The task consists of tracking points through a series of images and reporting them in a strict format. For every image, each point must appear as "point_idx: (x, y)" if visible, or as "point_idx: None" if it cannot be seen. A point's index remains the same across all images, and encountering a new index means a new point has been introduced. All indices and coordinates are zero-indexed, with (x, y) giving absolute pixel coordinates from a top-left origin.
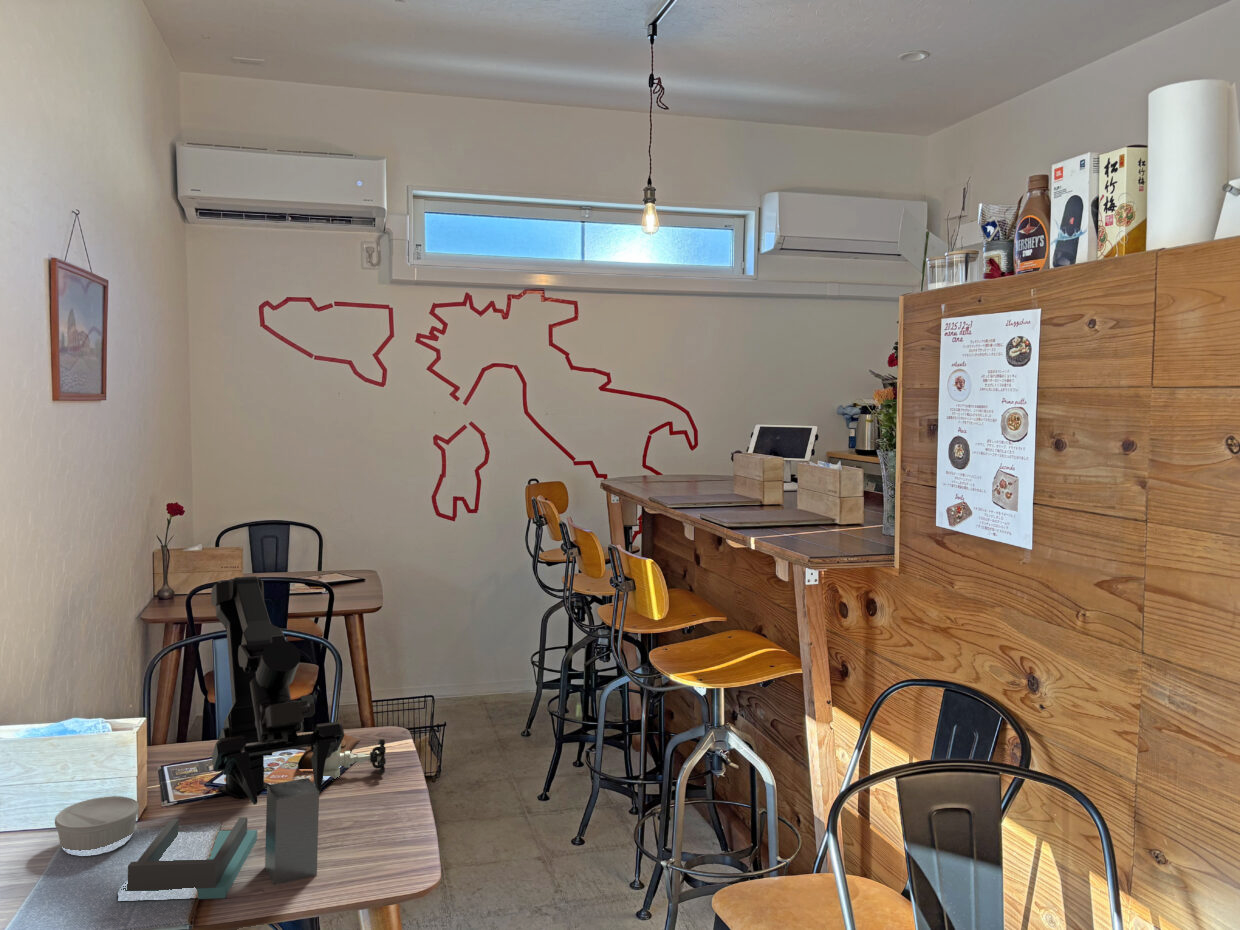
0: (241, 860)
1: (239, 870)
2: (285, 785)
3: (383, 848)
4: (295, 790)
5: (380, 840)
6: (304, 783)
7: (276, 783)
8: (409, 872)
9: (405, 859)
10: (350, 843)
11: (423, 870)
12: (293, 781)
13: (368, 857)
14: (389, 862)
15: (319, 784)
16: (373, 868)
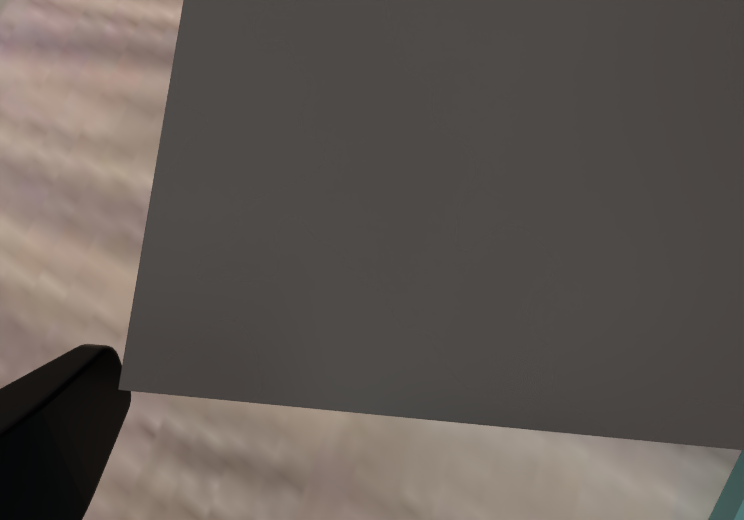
0: (734, 502)
1: (739, 458)
2: (509, 271)
3: (34, 292)
4: (436, 28)
5: (3, 381)
6: (246, 204)
7: (621, 437)
8: (64, 36)
9: (19, 145)
10: (123, 435)
11: (17, 27)
12: (350, 369)
13: (126, 243)
14: (81, 152)
15: (56, 374)
16: (157, 135)
